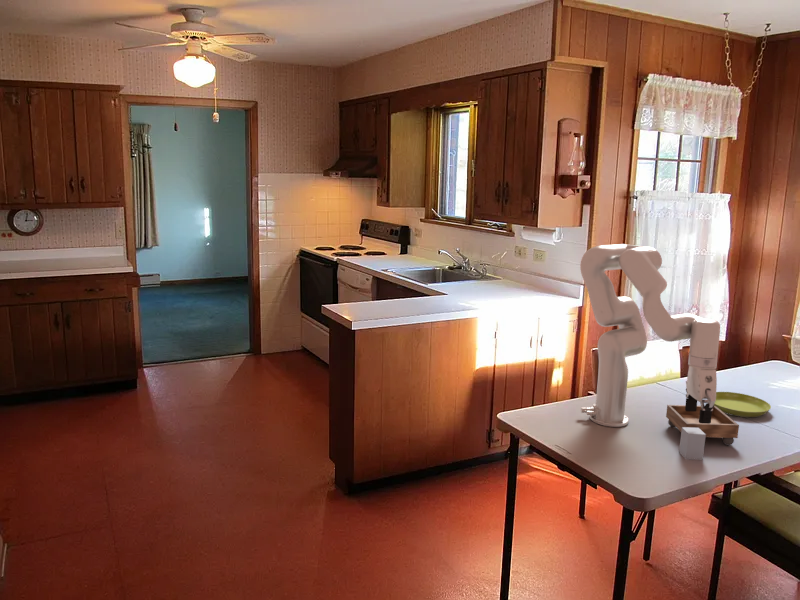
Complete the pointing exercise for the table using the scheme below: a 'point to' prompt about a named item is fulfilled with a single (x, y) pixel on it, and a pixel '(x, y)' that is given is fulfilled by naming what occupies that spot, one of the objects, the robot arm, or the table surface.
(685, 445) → the block
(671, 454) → the table surface
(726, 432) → the cart
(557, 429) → the table surface
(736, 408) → the saucer
